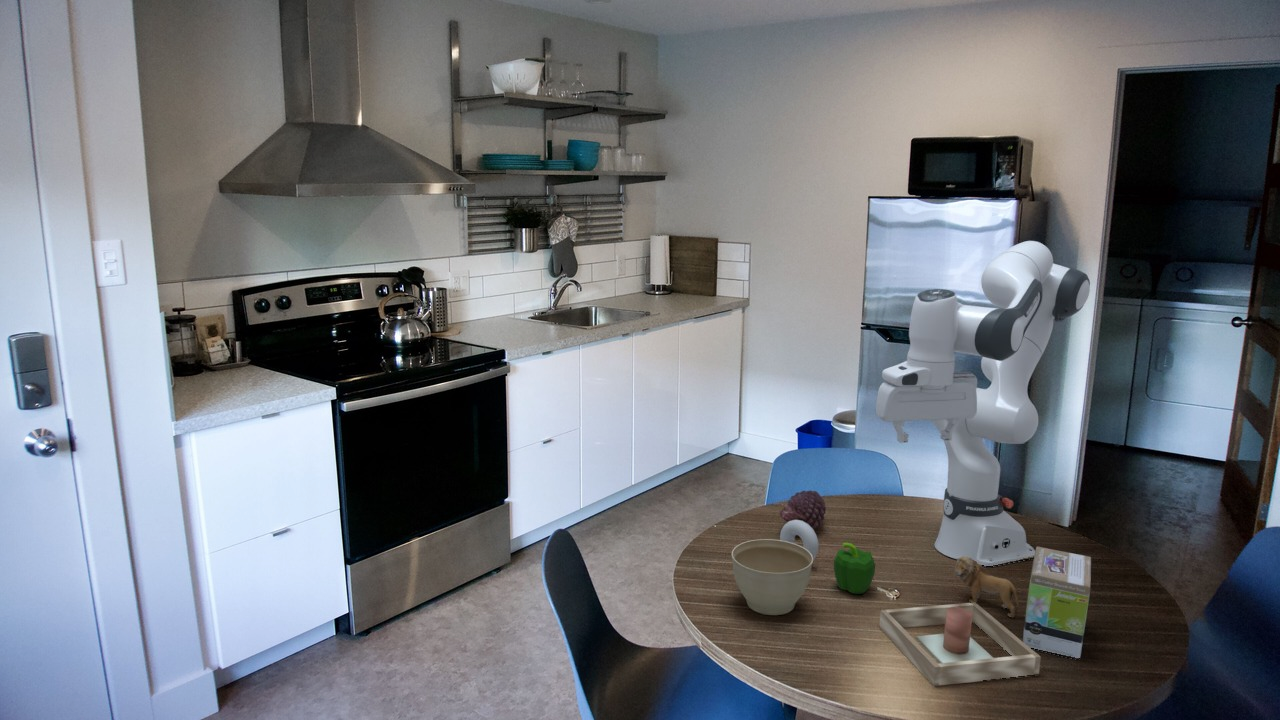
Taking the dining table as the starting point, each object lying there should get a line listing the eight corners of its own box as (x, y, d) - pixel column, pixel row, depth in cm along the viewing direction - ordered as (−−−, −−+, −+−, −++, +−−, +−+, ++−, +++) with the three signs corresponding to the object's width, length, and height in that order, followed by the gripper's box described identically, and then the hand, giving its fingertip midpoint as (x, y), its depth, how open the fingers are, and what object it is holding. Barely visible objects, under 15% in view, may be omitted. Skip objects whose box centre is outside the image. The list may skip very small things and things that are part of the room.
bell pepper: (880, 588, 178) (884, 544, 176) (861, 601, 172) (864, 556, 170) (845, 576, 183) (848, 533, 181) (825, 588, 177) (828, 544, 175)
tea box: (1082, 662, 151) (1091, 586, 148) (1021, 647, 155) (1029, 573, 152) (1083, 625, 164) (1092, 554, 161) (1026, 613, 168) (1034, 544, 165)
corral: (973, 618, 165) (975, 602, 165) (1038, 675, 146) (1040, 656, 146) (879, 627, 162) (880, 610, 161) (933, 686, 142) (935, 667, 142)
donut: (820, 567, 187) (823, 525, 185) (810, 572, 185) (813, 529, 183) (785, 553, 195) (787, 512, 193) (775, 557, 192) (777, 516, 190)
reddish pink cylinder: (959, 640, 156) (963, 606, 155) (973, 653, 152) (977, 617, 151) (938, 642, 156) (942, 607, 154) (951, 655, 151) (955, 619, 150)
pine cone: (804, 514, 219) (806, 477, 217) (839, 523, 212) (842, 486, 210) (769, 534, 205) (771, 496, 203) (806, 545, 199) (808, 505, 197)
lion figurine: (948, 599, 173) (951, 558, 172) (957, 590, 177) (960, 550, 176) (1023, 622, 164) (1027, 580, 163) (1030, 612, 168) (1035, 571, 167)
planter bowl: (762, 579, 181) (764, 532, 179) (825, 605, 170) (829, 555, 168) (713, 603, 170) (715, 553, 168) (778, 633, 159) (780, 580, 157)
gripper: (968, 368, 169) (962, 434, 172) (874, 371, 165) (870, 438, 168) (987, 374, 163) (980, 442, 166) (889, 378, 159) (884, 447, 162)
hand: (924, 440), depth 167 cm, fingers open, 8 cm apart
